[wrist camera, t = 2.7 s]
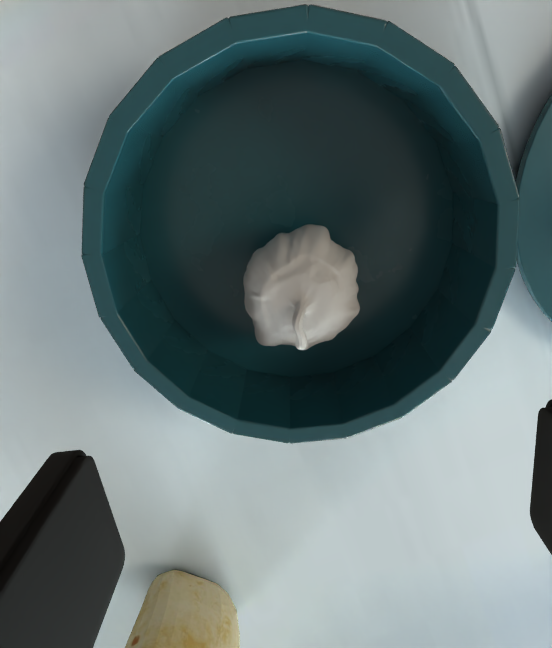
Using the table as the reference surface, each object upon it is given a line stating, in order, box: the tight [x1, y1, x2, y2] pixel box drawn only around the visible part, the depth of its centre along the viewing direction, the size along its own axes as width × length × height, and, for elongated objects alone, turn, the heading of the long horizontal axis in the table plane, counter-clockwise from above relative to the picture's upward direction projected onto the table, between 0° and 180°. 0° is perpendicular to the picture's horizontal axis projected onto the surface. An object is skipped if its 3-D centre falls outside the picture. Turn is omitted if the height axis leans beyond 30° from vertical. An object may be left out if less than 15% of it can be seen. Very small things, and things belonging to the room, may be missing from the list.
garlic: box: [243, 224, 360, 350], centre depth 21 cm, size 6×5×5 cm
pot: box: [82, 4, 520, 443], centre depth 20 cm, size 17×17×6 cm
